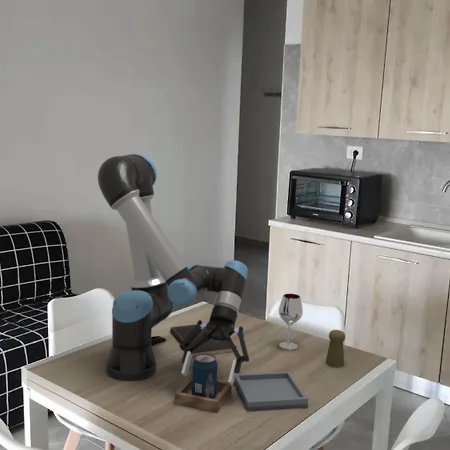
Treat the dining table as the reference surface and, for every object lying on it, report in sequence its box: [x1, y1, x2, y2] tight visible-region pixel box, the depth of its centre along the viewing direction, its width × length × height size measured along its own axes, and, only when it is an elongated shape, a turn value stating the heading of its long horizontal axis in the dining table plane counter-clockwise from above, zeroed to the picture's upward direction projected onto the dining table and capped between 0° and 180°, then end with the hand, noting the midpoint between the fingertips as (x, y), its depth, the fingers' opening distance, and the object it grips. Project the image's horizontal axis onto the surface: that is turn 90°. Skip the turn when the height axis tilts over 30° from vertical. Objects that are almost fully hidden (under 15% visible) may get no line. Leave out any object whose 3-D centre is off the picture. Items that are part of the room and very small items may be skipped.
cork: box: [324, 329, 346, 368], centre depth 190 cm, size 6×6×11 cm
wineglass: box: [278, 293, 304, 351], centre depth 201 cm, size 8×8×18 cm
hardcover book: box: [169, 324, 238, 358], centre depth 204 cm, size 16×23×2 cm
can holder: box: [174, 374, 233, 414], centre depth 164 cm, size 12×12×3 cm
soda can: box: [191, 354, 219, 399], centre depth 163 cm, size 7×7×12 cm
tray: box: [233, 371, 309, 412], centre depth 168 cm, size 17×17×2 cm
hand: (206, 379), depth 162 cm, fingers open, 13 cm apart
